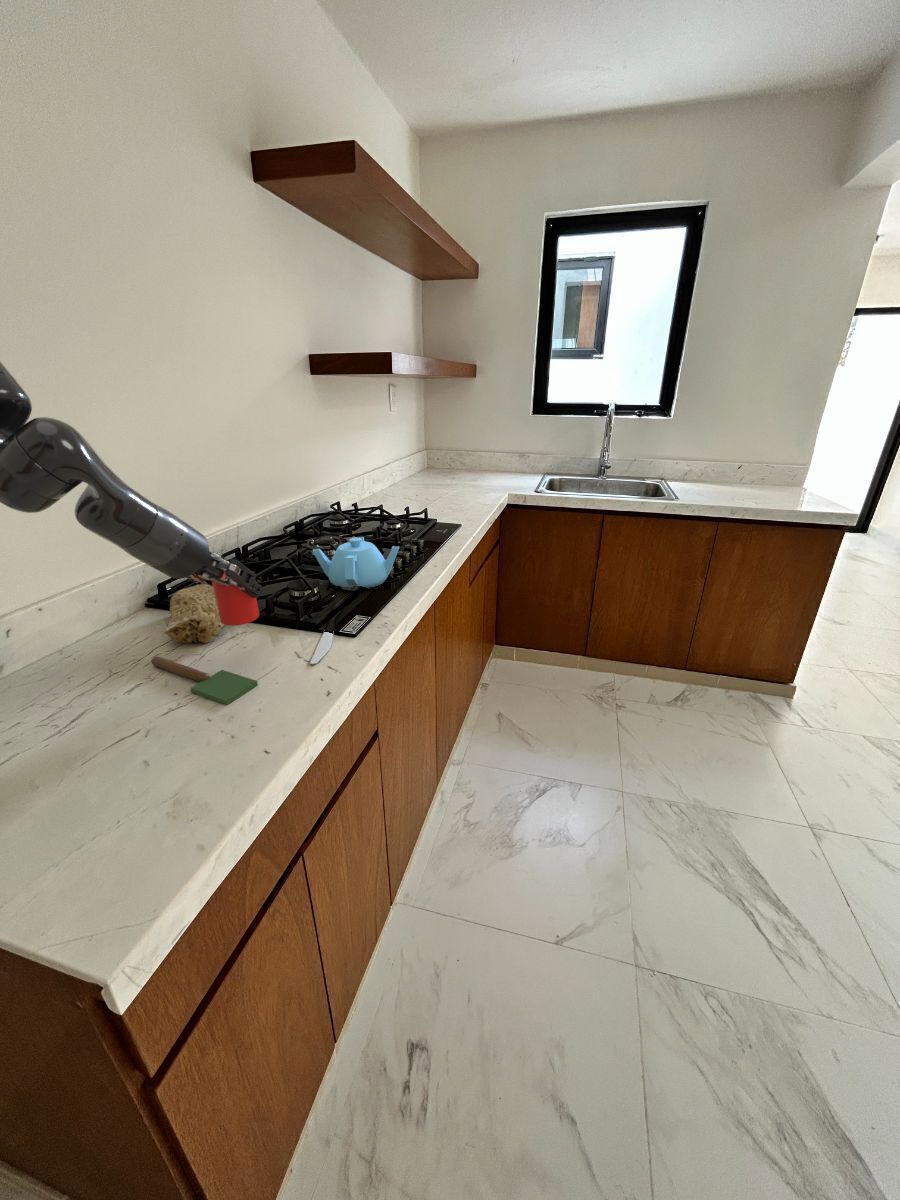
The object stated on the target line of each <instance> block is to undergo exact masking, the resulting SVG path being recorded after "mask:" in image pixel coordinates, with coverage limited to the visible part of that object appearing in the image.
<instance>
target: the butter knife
mask: <svg viewBox="0 0 900 1200" xmlns="http://www.w3.org/2000/svg"><path fill="white" fill-rule="evenodd" d="M333 640H334V633H333V634H332V633H329V632H324V631H323V633H322V635H321V637H320V640H319V642H318V643H317V646H316V648H315V650H314V653H313V655H312V657H311V659H310V662H309V664H311V665H315V664H317V663H318V662H320V661H321V660H322V658H324V657H325V655H326V654H327V653H328V652H329V651H330V650H331V647H332V644H333Z"/></svg>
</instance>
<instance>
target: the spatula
mask: <svg viewBox="0 0 900 1200" xmlns="http://www.w3.org/2000/svg"><path fill="white" fill-rule="evenodd" d="M150 662H151V664H152V666H154V667H156V668H160V669H163V670H164V671H165V670H166V671H168V672H171V673H174V674H177V675H180V676H183V677H186V678H188V679H191V680H194V681H196V682H198V683H196V684H195V685H193V686H191V687H190V688H189V689H190V693H192V694H196V695H198V696H201V697H203V698H205V699H209V700H211V701H213V702H214V701H215V702H217V703H219V704H222V705H225V706H229V704H231V703H233V702H234V701H236V700H238V699H239V698H241V697H242V696H243V695H245V694H246V693H248V692H250V691H251V690H253V689H254V688H255V687H257V686H258V685H259V684H258V681H257V680H256V679H252V678H250V677H246V676H243V675H239V674H237V673H234V672H230V671H228V670H224V669H221V670H219V671H217V672H215V673H214V674H212V675H210V674H209V673H208V672H205V671H202V670H199V669H196V668H193V667H191V666H187V665H185V664H182V663H178V662H176V661H173V660H169V659H166V658H165V657H164V658H163V657H161V656H154V657H152V659H151V661H150Z"/></svg>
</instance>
